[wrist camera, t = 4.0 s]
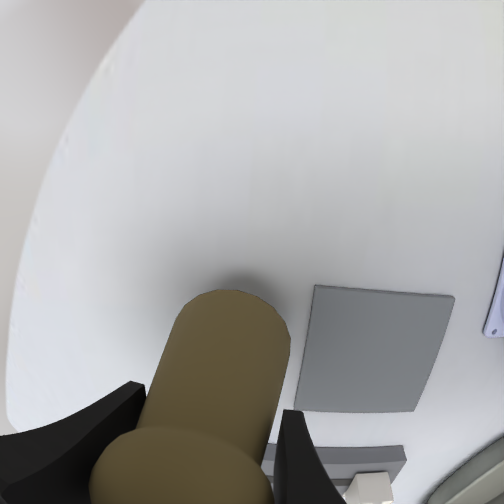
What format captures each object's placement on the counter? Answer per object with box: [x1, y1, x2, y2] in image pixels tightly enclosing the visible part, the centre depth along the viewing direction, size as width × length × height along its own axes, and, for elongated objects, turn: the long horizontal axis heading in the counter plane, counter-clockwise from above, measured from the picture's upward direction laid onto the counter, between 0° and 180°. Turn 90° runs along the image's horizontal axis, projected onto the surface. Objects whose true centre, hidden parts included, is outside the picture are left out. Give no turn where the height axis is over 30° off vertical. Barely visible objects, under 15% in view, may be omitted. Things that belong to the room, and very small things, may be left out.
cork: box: [88, 290, 291, 504], centre depth 10 cm, size 6×6×11 cm
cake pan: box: [427, 437, 504, 504], centre depth 20 cm, size 25×25×4 cm
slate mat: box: [294, 285, 455, 413], centre depth 19 cm, size 10×10×1 cm
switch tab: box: [345, 472, 394, 504], centre depth 18 cm, size 3×4×4 cm
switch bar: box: [261, 444, 407, 497], centre depth 22 cm, size 18×6×2 cm, turn 86°
